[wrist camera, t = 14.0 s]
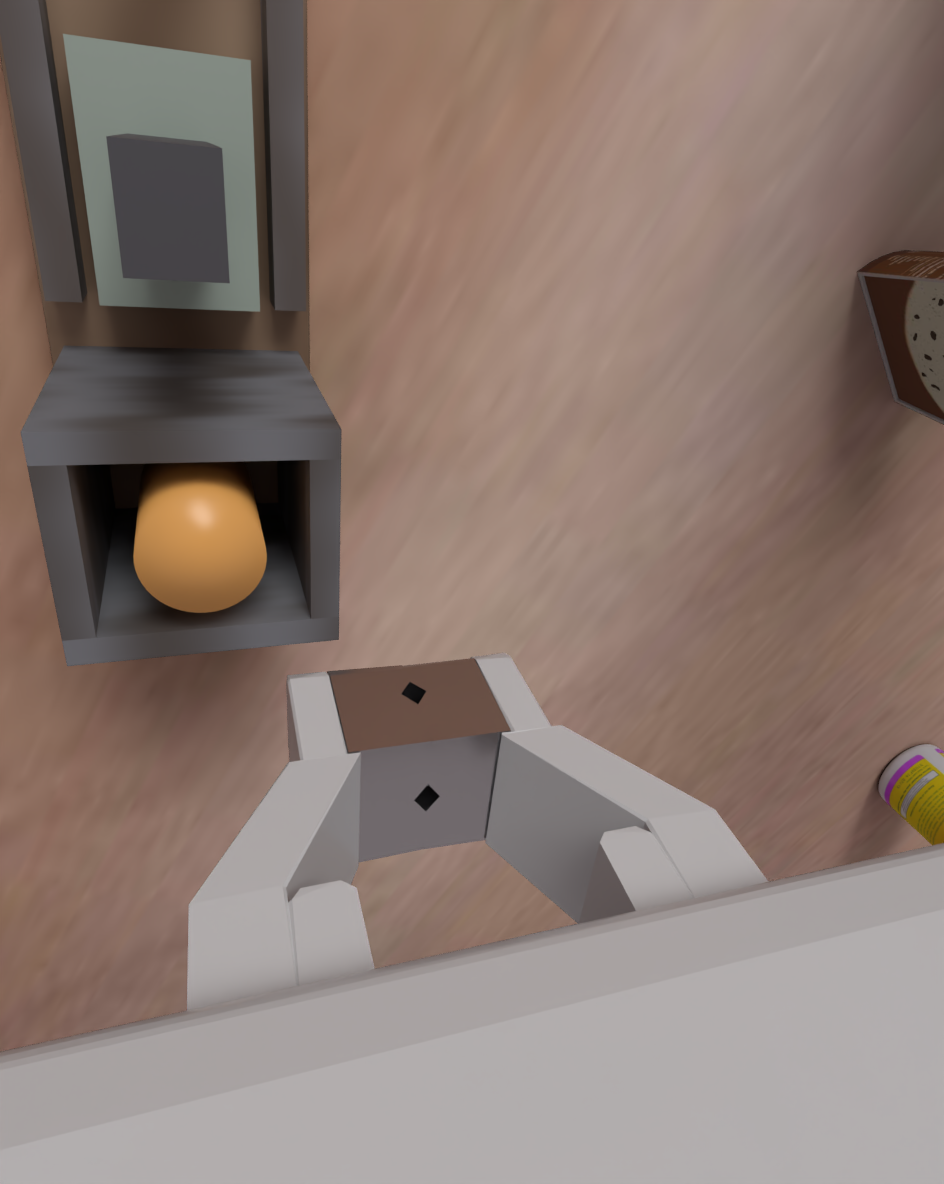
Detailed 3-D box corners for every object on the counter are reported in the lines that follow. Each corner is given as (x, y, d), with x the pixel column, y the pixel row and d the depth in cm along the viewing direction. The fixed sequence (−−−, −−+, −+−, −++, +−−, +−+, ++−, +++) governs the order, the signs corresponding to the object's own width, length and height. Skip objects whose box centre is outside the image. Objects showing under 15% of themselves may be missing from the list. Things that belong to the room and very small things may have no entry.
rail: (295, -495, 22) (388, -969, 13) (306, 507, 38) (352, 638, 28) (-109, -645, 19) (-396, -1433, 10) (84, 517, 35) (50, 667, 25)
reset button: (249, 435, 29) (264, 498, 24) (253, 531, 31) (269, 607, 26) (133, 437, 28) (125, 503, 23) (146, 537, 30) (141, 618, 25)
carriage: (245, 64, 27) (286, 29, 17) (255, 301, 31) (293, 381, 21) (70, 40, 25) (5, -15, 16) (104, 294, 29) (69, 379, 19)
